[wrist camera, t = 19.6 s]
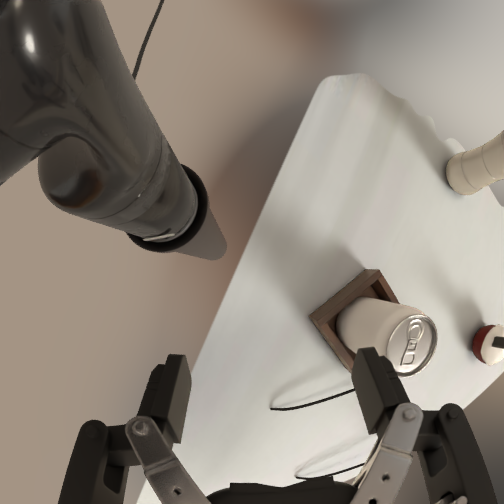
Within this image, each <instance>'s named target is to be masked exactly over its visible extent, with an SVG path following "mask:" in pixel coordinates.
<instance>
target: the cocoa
mask: <svg viewBox="0 0 504 504" xmlns="http://www.w3.org/2000/svg"><path fill="white" fill-rule="evenodd" d="M472 349H473V354H474V355H475V356H476V358H477V359H478V360H480V361H481V362H483V363H486V364H487V365H488V366H491V365H494V364H496V363H498V362H500V361H501V360H502V359H503V357H504V327H503V326H502V325H499V324H498V325H487V326H484V327H482V328H481V329H480V330H479V331H478V332H477V333H476V335H475V337H474V339H473V344H472Z"/></svg>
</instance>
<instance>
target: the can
mask: <svg viewBox="0 0 504 504" xmlns="http://www.w3.org/2000/svg"><path fill="white" fill-rule="evenodd" d="M336 331H337V335H338V337H339V339H340V341H341V342H342V343H343V344H344V345H345V346H347V347H348V348H349V349H351V350H352V351H353V352H355V353H357V350H358V349H359V348H365V347H375V349H376V351H377V353H378V355H379V356H383V355H384V356H385V357H386V358H387V359H388V360H390V361H391V362H392V364H393V366H394V369H395V372H396V373H397V375H398V377H404V378H405V377H411V376H414V375H416V374H418V373H419V372H420V371H422V370H423V369H424V368H425V367H426V366H427V365H428V363H429V362H430V360H431V359H432V357H433V355H434V352H435V349H436V345H437V330H436V327H435V324H434V323H433V321H432V320H431V319H430V318H429V317H428V316H426V315H425V314H424V313H423V312H422V311H420V310H418V309H416V308H413V307H410V306H406V305H401V304H397V303H392V302H388V301H383V300H379V299H374V298H369V297H358V298H356V299H354V300H353V301H352V302H351V303H350V304H348V305H347V306H346V307H345V308H344V309H342V310H341V311H340V313H339V315H338V318H337V322H336Z"/></svg>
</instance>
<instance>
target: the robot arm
mask: <svg viewBox="0 0 504 504" xmlns="http://www.w3.org/2000/svg"><path fill="white" fill-rule="evenodd" d="M163 3H164V0H160V3H159V5H158V8H157V10H156V12H155V15H154V17H153V19H152V22H151V24H150V26H149V28H148V31H147V33H146V36H145V38H144V41H143V44H142V46H141V49H140V52H139V55H138V58H137V61H136V65H135V68H134V70H133V73H132V74H131V73H130V71H129V69H128V66H127V64H126V62H125V60H124V57H123V55H122V53H121V50H120V48H119V45H118V43H117V40H116V38H115V35H114V33H113V30H112V27H111V25H110V22H109V20H108V17H107V14H106V11H105V9H104V6H103V4H102V1H101V0H0V186H1V185H2V184H3V183H4V182H5V181H6V180H7V179H9V178H10V177H11V176H13V175H14V174H15V173H16V172H18V171H19V170H20V169H22V168H23V167H24V166H26V165H27V164H28V163H30V162H31V161H32V160H34V159H35V158H36V157H38V156H39V158H38V174H39V181H40V184H41V187H42V190H43V192H44V194H45V195H46V197H47V198H48V199H49V201H50V202H51V203H52V204H53V205H55V206H56V207H58V208H59V209H61V210H63V211H65V212H67V213H69V214H72V215H75V216H79V217H81V218H84V219H87V220H90V221H93V222H96V223H100V224H103V225H106V226H109V227H112V228H115V229H119V230H122V231H125V232H128V233H131V234H134V235H137V236H140V237H142V238H144V239H143V240H146V241H149V240H150V241H154V242H166V241H170V240H173V239H175V238H177V237H179V236H180V235H182V234H183V233H184V232H185V231H186V230H187V229H188V228H189V227H190V226H191V224H192V222H193V221H194V218H195V216H196V213H197V207H198V198H197V194H196V191H195V188H194V186H193V184H192V183H191V181H190V180H189V179H188V177H187V175H186V173H185V172H184V170H183V168H182V166H181V165H180V163H179V161H178V159H177V157H176V156H175V154H174V152H173V150H172V149H171V147H170V145H169V143H168V141H167V140H166V138H165V136H164V135H163V133H162V131H161V129H160V127H159V126H158V124H157V122H156V120H155V118H154V116H153V114H152V113H151V111H150V109H149V107H148V105H147V103H146V102H145V100H144V98H143V96H142V94H141V92H140V90H139V88H138V86H137V84H136V82H135V80H136V76H137V74H138V71H139V67H140V64H141V60H142V57H143V54H144V51H145V48H146V45H147V43H148V40H149V37H150V35H151V32H152V29H153V27H154V25H155V22H156V20H157V18H158V15H159V13H160V11H161V8H162V5H163ZM351 377H352V382H353V385H354V388H355V391H356V394H357V397H358V401H359V404H360V407H361V410H362V413H363V416H364V420H365V423H366V426H367V430H368V433H369V435H370V434H374V433H377V436H378V439H377V441H376V443H375V445H374V447H373V449H372V451H371V453H370V455H369V457H368V458H367V460H366V462H365V464H364V466H363V468H362V469H361V471H360V473H359V474H358V476H357V477H356V479H355V480H354V482H353V484H352V485H350V484H347V483H343V482H337V481H334V480H333V476H331V477H324V478H317V479H309V480H306V481H303V482H300V483H296V484H293V485H290V486H287V487H275V486H269V485H263V484H258V483H230V488H225V489H222V490H219V491H216V492H214V493H212V494H210V495H208V496H207V497H206V496H205V495H204V494H203V493H202V491H201V490H200V489H199V487H198V486H197V485H196V483H195V482H194V481H193V479H192V478H191V477H190V475H189V474H188V473H187V471H186V470H185V468H184V467H183V465H182V464H181V463H180V461H179V460H178V458H177V457H176V455H175V454H174V452H173V451H172V447H173V443H179V444H181V438H182V433H183V427H184V422H185V417H186V411H187V406H188V401H189V396H190V391H191V374H190V371H189V367H188V363H187V359H186V356H185V355H177V354H169V355H168V357H167V360H166V363H165V365H164V364H158V365H157V366H156V368H155V369H154V370H153V371H152V372H151V375H150V378H149V382H148V384H147V387H146V390H145V393H144V396H143V399H142V402H141V405H140V408H139V411H138V414H137V416H136V417H134V418H132V419H131V420H129V421H128V423H127V424H124V425H119V426H106V425H105V424H104V423H102V422H101V421H98V420H90V421H87V422H86V423H84V424H83V425H82V427H81V429H80V431H79V434H78V437H77V440H76V443H75V446H74V449H73V452H72V455H71V458H70V462H69V465H68V468H67V472H66V475H65V479H64V482H63V486H62V490H61V494H60V498H59V501H58V504H123V501H124V494H125V488H126V483H127V477H128V472H129V467H130V466H135V465H142V467H143V469H144V474H145V476H146V478H147V480H148V481H149V483H150V485H151V487H152V488H153V490H154V491H155V493H156V495H157V496H158V498H159V500H160V501H161V503H162V504H393V503H394V500H395V498H396V496H397V494H398V492H399V490H400V488H401V486H402V483H403V481H404V479H405V477H406V474H407V472H408V469H409V467H410V464H411V462H412V459H413V456H412V455H411V453H412V451H417V453H418V456H419V460H420V463H421V467H422V471H423V475H424V478H425V483H426V486H427V491H428V495H429V499H430V504H498V503H497V500H496V496H495V493H494V489H493V486H492V483H491V480H490V477H489V474H488V471H487V468H486V465H485V463H484V460H483V457H482V454H481V452H480V449H479V447H478V445H477V442H476V439H475V437H474V435H473V432H472V430H471V427H470V425H469V423H468V421H467V418H466V416H465V414H464V412H463V410H462V408H461V407H460V406H458V405H456V404H453V403H448V404H445V405H444V406H442V408H441V409H440V410H439V411H425V410H421V408H420V407H419V406H418V405H416V404H414V403H411V402H410V400H409V398H408V396H407V394H406V392H405V389H404V387H403V385H402V383H401V381H400V379H399V378H398V375H397V373H396V372H395V369H394V366H393V364H392V362H391V361H390V360H388V359H387V358H386V357H385V356H384V355H383V356H379V355H378V353H377V351H376V349H375V347H365V348H359V349H358V350H357V353H356V357H355V360H354V364H353V367H352V372H351Z"/></svg>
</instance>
